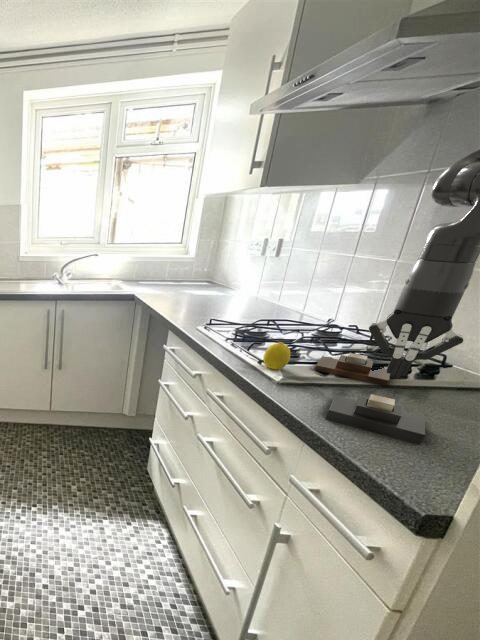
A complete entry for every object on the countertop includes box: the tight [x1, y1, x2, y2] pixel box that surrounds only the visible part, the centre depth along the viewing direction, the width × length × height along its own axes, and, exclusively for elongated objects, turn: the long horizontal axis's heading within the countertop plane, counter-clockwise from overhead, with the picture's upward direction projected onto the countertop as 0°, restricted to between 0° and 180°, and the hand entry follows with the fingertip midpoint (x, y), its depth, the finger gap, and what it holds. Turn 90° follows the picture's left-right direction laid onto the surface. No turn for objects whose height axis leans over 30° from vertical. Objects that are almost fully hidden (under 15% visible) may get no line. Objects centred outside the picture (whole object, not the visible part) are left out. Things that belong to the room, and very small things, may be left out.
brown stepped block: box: [314, 354, 391, 386], centre depth 107 cm, size 14×10×4 cm
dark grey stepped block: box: [324, 395, 426, 446], centre depth 84 cm, size 14×10×4 cm
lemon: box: [263, 341, 291, 370], centre depth 109 cm, size 6×6×8 cm
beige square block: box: [346, 352, 368, 365], centre depth 106 cm, size 4×4×2 cm
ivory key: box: [367, 393, 396, 412], centre depth 83 cm, size 4×4×2 cm
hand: (394, 376), depth 81 cm, fingers closed
